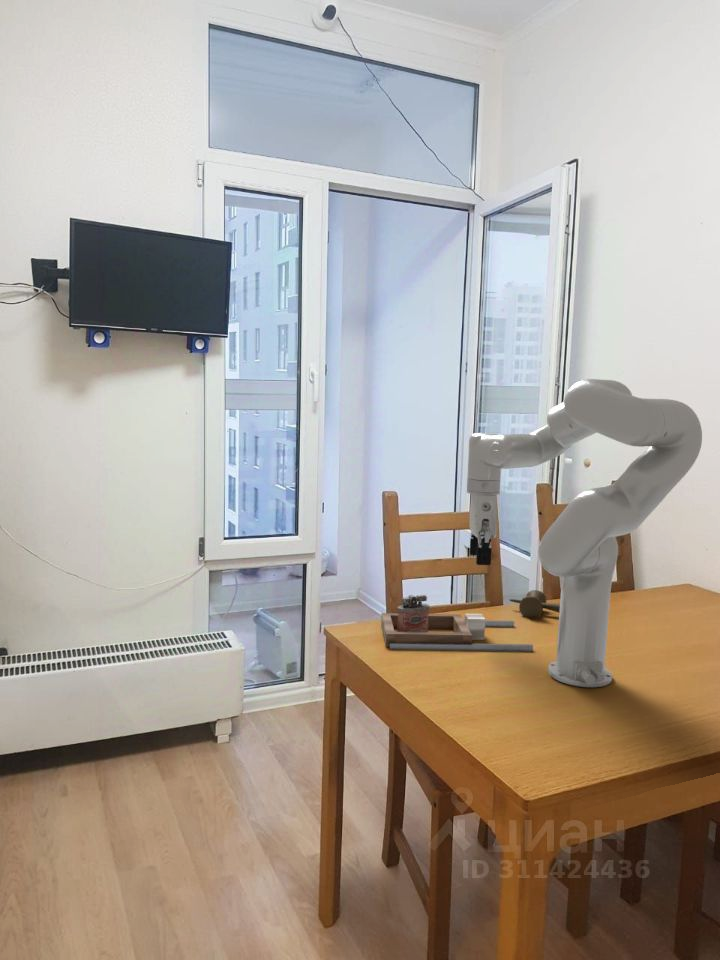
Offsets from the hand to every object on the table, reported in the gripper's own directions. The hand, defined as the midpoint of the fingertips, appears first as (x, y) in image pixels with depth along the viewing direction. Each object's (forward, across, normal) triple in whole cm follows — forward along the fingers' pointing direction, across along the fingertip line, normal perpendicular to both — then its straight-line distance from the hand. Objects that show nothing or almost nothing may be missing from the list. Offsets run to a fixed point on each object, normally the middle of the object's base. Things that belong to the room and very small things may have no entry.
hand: (479, 559), depth 167 cm
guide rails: (+19, -1, +5) cm, 19 cm away
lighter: (+19, -1, +15) cm, 24 cm away
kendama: (+19, +18, -22) cm, 34 cm away
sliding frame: (+18, -1, +10) cm, 21 cm away
